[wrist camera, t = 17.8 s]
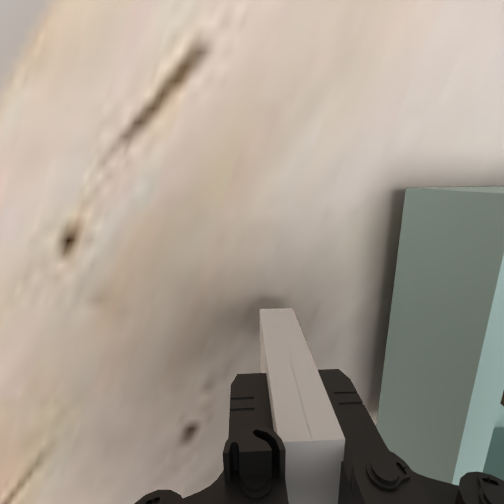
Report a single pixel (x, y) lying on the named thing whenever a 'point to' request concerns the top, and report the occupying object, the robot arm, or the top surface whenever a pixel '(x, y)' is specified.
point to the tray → (447, 335)
